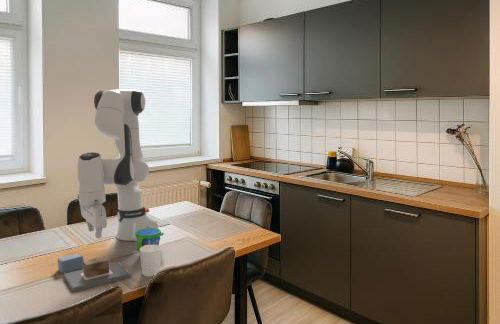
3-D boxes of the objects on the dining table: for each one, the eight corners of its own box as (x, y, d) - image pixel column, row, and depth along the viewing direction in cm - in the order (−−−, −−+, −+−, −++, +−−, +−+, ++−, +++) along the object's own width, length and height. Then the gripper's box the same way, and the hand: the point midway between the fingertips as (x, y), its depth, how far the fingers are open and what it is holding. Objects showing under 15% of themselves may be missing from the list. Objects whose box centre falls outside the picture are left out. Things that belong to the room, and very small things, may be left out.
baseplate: (117, 264, 160) (117, 261, 160) (129, 277, 149) (129, 273, 149) (64, 277, 148) (63, 273, 148) (73, 291, 137) (72, 287, 137)
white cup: (163, 268, 157) (162, 244, 155) (159, 277, 149) (158, 251, 148) (143, 268, 157) (142, 244, 155) (138, 277, 149) (137, 252, 147)
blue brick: (79, 264, 161) (78, 252, 160) (83, 268, 157) (82, 256, 157) (58, 270, 155) (57, 258, 154) (62, 273, 152) (61, 261, 151)
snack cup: (150, 246, 181) (149, 224, 180) (169, 249, 177) (169, 227, 176) (127, 258, 167) (126, 235, 166) (147, 262, 163) (146, 238, 161)
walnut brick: (105, 268, 153) (104, 256, 152) (109, 272, 149) (108, 260, 148) (83, 273, 148) (82, 261, 147) (87, 278, 144) (86, 265, 144)
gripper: (110, 202, 138) (112, 240, 140) (93, 191, 154) (95, 225, 156) (91, 205, 134) (94, 244, 136) (76, 193, 150) (78, 228, 153)
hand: (94, 234), depth 146 cm, fingers open, 8 cm apart
